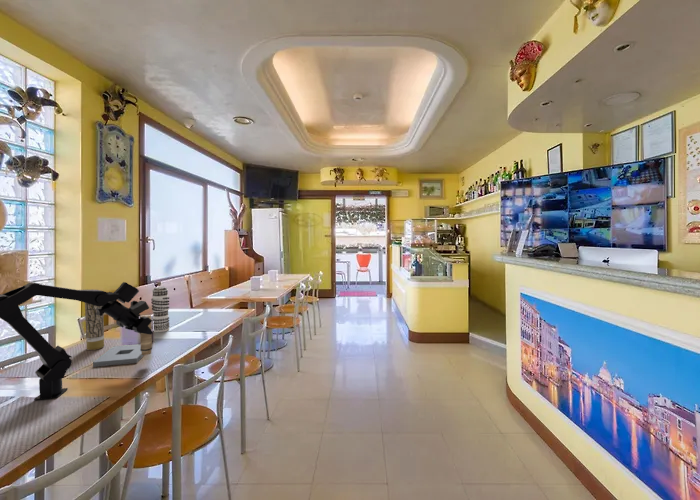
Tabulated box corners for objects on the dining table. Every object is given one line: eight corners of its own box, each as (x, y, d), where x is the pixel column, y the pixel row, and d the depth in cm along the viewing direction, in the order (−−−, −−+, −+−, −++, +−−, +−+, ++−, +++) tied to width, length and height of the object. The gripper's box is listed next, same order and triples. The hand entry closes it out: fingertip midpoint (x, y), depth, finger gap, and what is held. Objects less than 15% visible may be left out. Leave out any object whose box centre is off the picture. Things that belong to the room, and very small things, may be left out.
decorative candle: (168, 326, 193) (167, 285, 191) (171, 330, 185) (170, 287, 184) (150, 329, 187) (149, 287, 186) (153, 333, 180) (152, 289, 178)
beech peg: (150, 354, 134) (149, 317, 134) (139, 355, 133) (138, 317, 132) (153, 351, 138) (152, 314, 138) (142, 352, 137) (141, 315, 136)
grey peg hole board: (136, 362, 138) (136, 358, 138) (93, 366, 134) (92, 362, 134) (151, 347, 157) (151, 343, 157) (114, 350, 153) (113, 346, 153)
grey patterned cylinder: (94, 351, 152) (92, 298, 151) (82, 350, 153) (80, 298, 152) (107, 346, 159) (106, 296, 158) (96, 345, 160) (94, 295, 159)
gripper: (145, 298, 126) (174, 319, 136) (124, 293, 136) (152, 313, 146) (123, 322, 120) (155, 343, 130) (102, 315, 130) (133, 335, 140)
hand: (149, 332), depth 137 cm, fingers closed on beech peg, 4 cm apart
